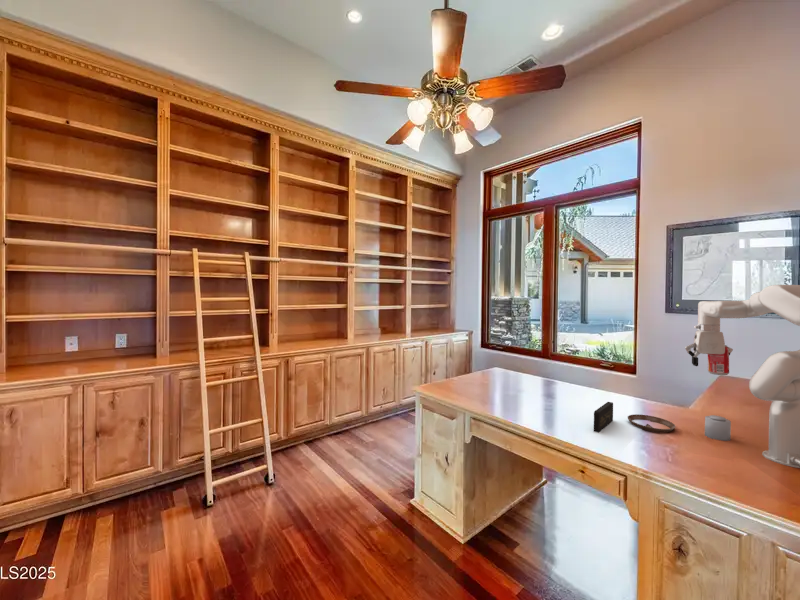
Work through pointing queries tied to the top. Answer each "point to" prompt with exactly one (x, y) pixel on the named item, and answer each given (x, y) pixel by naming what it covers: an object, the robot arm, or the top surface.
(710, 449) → the top surface
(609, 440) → the top surface
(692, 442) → the top surface
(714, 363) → the soda can
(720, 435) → the grey ceramic cup
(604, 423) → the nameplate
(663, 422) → the plant saucer
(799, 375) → the robot arm
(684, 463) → the top surface
